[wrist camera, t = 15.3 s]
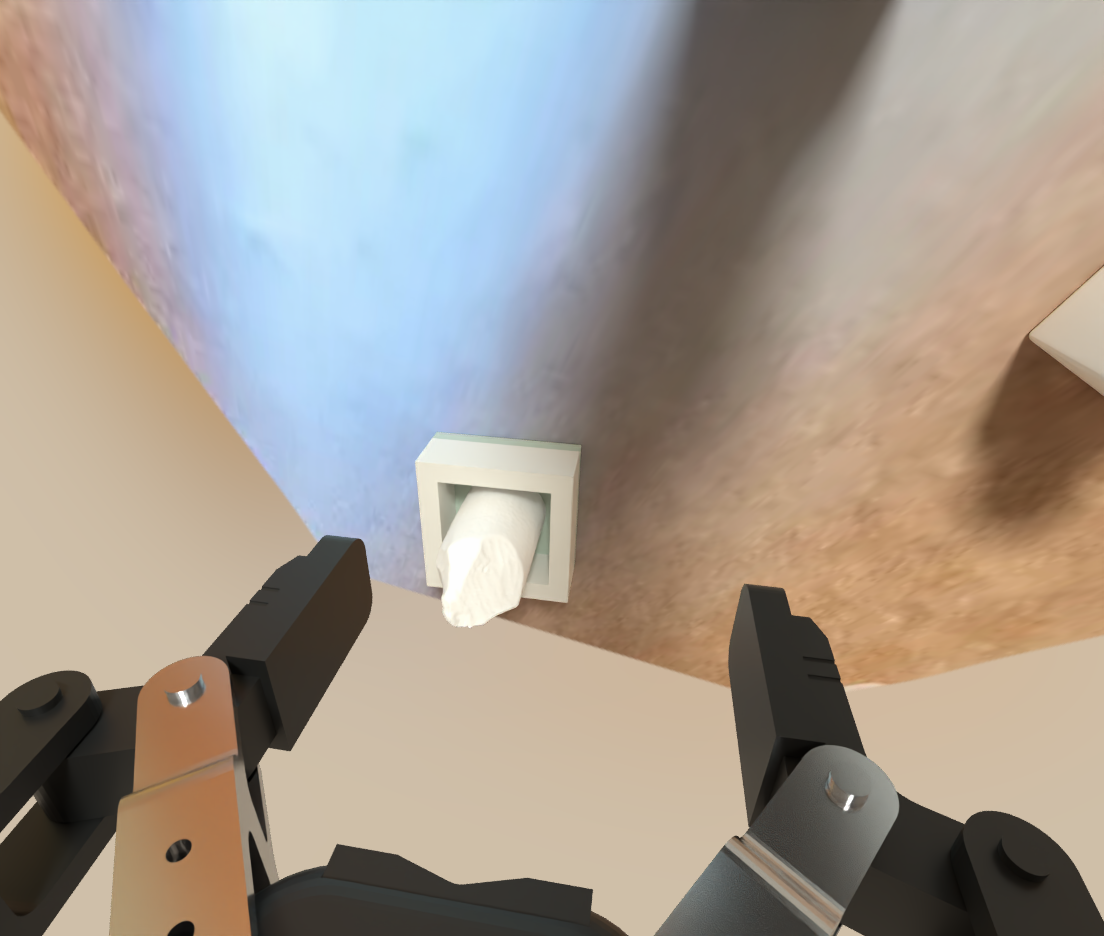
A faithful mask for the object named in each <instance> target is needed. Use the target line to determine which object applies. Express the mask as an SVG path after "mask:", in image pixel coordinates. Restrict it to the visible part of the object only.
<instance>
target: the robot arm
mask: <svg viewBox="0 0 1104 936" xmlns="http://www.w3.org/2000/svg"><path fill="white" fill-rule="evenodd" d="M371 606H372V589H371V583H370V576H369V569H368V563H367V556H366V550H365V545H364V543H363V541H362V540H361V539H357V538H348V537H340V536H331V535H326V536H324V537H323V538H322V539H321V540H320V541H319V542H318V543H317V545H316V546H315V547H314V548H313V550H312V551H311V552H310V553H309V554H308V556H297V557H296V558H294V559H293V560H291V561H289V562H288V563H286V564H284V565H283V566H281V567H280V568H278V569H277V570H276V571H275V572H274V573H273V574H272V575H271V577H270V578H269V579H268V580H267V581H266V582H265V584H264V585H263V586H262V589H261V590H259V591H258V592H257V593H256V594H255V595H254V596H253V597H252V598H251V600H250V603H249V604H246V605H245V607H244V608H243V609H242V610H241V611H240V612H239V614H238V615H237V616H236V617H235V618H234V619H233V621H232V622H231V623H230V624H229V625H228V626H227V628H226V629H225V630H224V631H223V632H222V633H221V634H220V636H219V637H218V638H217V639H216V640H215V641H214V643H213V644H212V645H211V646H210V647H209V648H208V650H207V651H206V652H205V653H204V654H203V655H202V656H195V657H190V658H186V659H182V660H180V661H177V662H175V663H172V664H170V665H168V666H166V667H165V668H163V669H161V670H160V671H159V672H157V673H156V674H155V675H153V676H152V677H151V678H150V679H149V680H148V681H147V682H146V684H145V685H144V686H137V687H130V688H121V689H113V690H106V691H98V692H96V690H95V688H94V686H93V684H92V682H91V680H90V679H89V677H88V676H87V675H86V674H84V673H81V672H78V671H59V672H54V673H50V674H47V675H43V676H40V677H38V678H35V679H33V680H31V681H29V682H27V683H25V684H23V685H21V686H20V687H18V688H17V689H15V690H14V691H12V692H11V693H9V694H8V695H7V696H6V697H5V698H3V699H2V700H1V701H0V832H1V831H2V830H3V829H4V828H5V827H6V825H7V824H8V823H9V822H10V821H11V820H12V819H13V818H14V816H15V815H16V814H17V813H18V812H19V811H20V809H21V808H22V807H23V806H24V805H25V804H26V803H27V801H28V800H29V799H30V798H31V797H32V796H33V795H34V797H35V799H36V800H37V802H36V803H35V804H34V806H33V807H32V808H31V809H30V810H29V812H28V813H27V814H26V815H25V816H24V817H23V819H22V820H21V821H20V822H19V823H18V824H17V826H16V827H15V828H14V829H13V830H12V831H11V833H10V834H9V835H8V836H7V837H6V838H5V840H4V841H3V842H2V843H1V844H0V936H42V935H43V934H44V932H45V931H46V930H47V928H48V927H49V925H50V924H51V922H52V921H53V920H54V918H55V917H56V915H57V914H58V913H59V911H60V910H61V908H62V907H63V905H64V904H65V903H66V901H67V900H68V898H69V897H70V896H71V894H72V893H73V891H74V890H75V889H76V887H77V886H78V884H79V883H80V882H81V880H82V879H83V877H84V876H85V874H86V873H87V872H88V870H89V869H90V867H91V866H92V864H93V863H94V862H95V860H96V859H97V857H98V856H99V855H100V853H101V852H102V850H103V849H104V848H105V846H106V845H107V843H108V842H109V840H110V839H111V838H112V836H113V835H114V833H115V832H116V842H115V857H114V872H113V886H112V901H111V916H110V931H109V936H628V935H627V934H626V933H625V932H623V931H622V930H621V929H620V928H619V927H617V926H616V925H614V924H613V923H611V922H610V921H609V920H607V919H606V918H604V917H602V916H600V915H598V914H596V913H594V912H592V911H591V903H592V893H593V890H592V889H587V888H582V887H576V886H570V885H565V884H559V883H554V882H548V881H542V880H536V879H531V878H523V879H513V880H502V881H493V882H483V883H475V884H466V885H465V884H464V885H459V884H454V883H451V882H449V881H447V880H445V879H443V878H441V877H439V876H437V875H435V874H434V873H432V872H429V871H428V870H426V869H424V868H422V867H420V866H418V865H416V864H414V863H412V862H410V861H408V860H406V859H404V858H402V857H401V856H399V855H396V854H390V853H384V852H379V851H373V850H368V849H362V848H356V847H350V846H345V845H339V844H337V845H336V847H335V850H334V852H333V854H332V856H331V858H330V861H329V863H328V865H327V866H320V867H316V868H312V869H308V870H304V871H301V872H298V873H295V874H293V875H290V876H287V877H285V878H283V879H281V880H279V878H278V873H277V869H276V865H275V860H274V855H273V849H272V842H271V835H270V828H269V822H268V815H267V807H266V801H265V794H264V787H263V780H262V773H261V768H260V765H259V762H260V760H261V758H262V757H263V755H264V754H265V752H266V750H267V749H268V748H273V749H280V750H286V751H291V749H292V748H293V746H294V744H295V743H296V741H297V739H298V738H299V736H300V734H301V732H302V731H303V729H304V727H305V726H306V724H307V722H308V721H309V719H310V717H311V716H312V714H313V712H314V710H315V709H316V707H317V705H318V704H319V702H320V700H321V699H322V697H323V695H324V694H325V692H326V690H327V688H328V687H329V685H330V683H331V682H332V680H333V678H334V677H335V675H336V673H337V671H338V669H339V668H340V666H341V665H342V663H343V661H344V660H345V658H346V656H347V655H348V653H349V651H350V649H351V648H352V646H353V644H354V643H355V641H356V639H357V638H358V636H359V634H360V633H361V631H362V629H363V627H364V626H365V624H366V622H367V620H368V618H369V615H370V611H371ZM834 661H835V660H834V657H833V654H832V651H831V648H830V644H829V641H828V638H827V637H826V636H825V635H824V633H823V632H822V631H821V630H820V629H819V628H818V626H817V625H816V624H815V623H814V622H813V621H812V619H811V618H810V617H801V616H793V615H791V611H790V608H789V604H788V600H787V597H786V593H785V591H784V589H783V588H777V587H768V586H759V585H751V584H744V585H743V587H742V590H741V594H740V599H739V603H738V608H737V612H736V616H735V621H734V625H733V630H732V634H731V639H730V645H729V660H728V663H729V676H730V684H731V691H732V699H733V707H734V716H735V723H736V731H737V739H738V747H739V754H740V762H741V771H742V778H743V786H744V794H745V802H746V810H747V818H748V825H749V827H750V828H749V829H748V831H747V832H746V833H745V834H744V835H743V836H742V837H741V838H739V837H738V836H734V837H732V838H731V839H730V840H729V841H728V842H727V843H726V844H725V845H724V846H723V848H722V849H721V850H720V852H719V853H718V854H717V855H716V857H715V858H714V859H713V860H712V862H711V863H710V864H709V866H708V867H707V868H706V869H705V871H704V872H703V873H702V875H701V876H700V877H699V878H698V880H697V881H696V882H695V884H694V885H693V886H692V887H691V889H690V890H689V891H688V893H687V894H686V895H685V897H684V898H683V899H682V901H681V902H680V903H679V904H678V905H677V907H676V908H675V909H674V911H673V912H672V913H671V914H670V916H669V917H668V918H667V920H666V921H665V922H664V923H663V925H662V926H661V927H660V928H659V930H658V931H657V932H656V934H655V935H654V936H837V934H838V933H839V931H840V929H841V927H842V925H845V926H847V927H849V928H851V929H853V930H855V931H856V932H858V933H860V934H862V935H864V936H1104V921H1103V919H1102V917H1101V915H1100V913H1099V911H1098V909H1097V907H1096V905H1095V903H1094V901H1093V899H1092V897H1091V895H1090V893H1089V891H1088V890H1087V888H1086V885H1085V883H1084V881H1083V879H1082V878H1081V876H1080V873H1079V872H1078V870H1077V868H1076V866H1075V865H1074V863H1073V862H1072V861H1071V859H1070V858H1069V856H1068V855H1067V854H1066V853H1065V852H1064V851H1063V849H1061V847H1060V846H1059V845H1058V844H1057V843H1056V842H1055V841H1053V840H1052V839H1051V838H1050V837H1049V836H1048V835H1046V834H1045V833H1043V832H1042V831H1041V830H1040V829H1038V828H1036V827H1035V826H1033V825H1032V824H1030V823H1028V822H1026V821H1024V820H1022V819H1020V818H1018V817H1015V816H1012V815H1010V814H1006V813H1002V812H997V811H983V812H978V813H976V814H974V815H972V816H971V817H970V818H969V819H968V820H967V821H966V823H965V824H963V823H960V822H958V821H956V820H953V819H951V818H949V817H946V816H944V815H942V814H939V813H937V812H935V811H932V810H930V809H928V808H925V807H923V806H921V805H919V804H916V803H914V802H912V801H910V800H908V799H907V798H905V797H904V796H902V795H901V794H899V793H898V792H897V791H896V790H895V788H894V786H893V784H892V782H891V781H890V779H889V778H888V776H887V775H886V774H885V773H884V772H883V771H882V769H880V767H879V766H877V765H876V764H875V763H874V762H873V761H871V760H870V759H868V758H867V756H866V754H865V751H864V748H863V745H862V742H861V739H860V736H859V733H858V730H857V727H856V724H855V721H854V718H853V715H852V712H851V709H850V705H849V702H848V699H847V696H846V693H845V690H844V687H843V684H842V683H841V682H840V679H841V678H840V675H839V672H838V669H837V666H836V665H835V664H834Z"/></svg>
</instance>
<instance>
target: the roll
mask: <svg viewBox="0 0 1104 936" xmlns="http://www.w3.org/2000/svg"><path fill="white" fill-rule="evenodd" d="M545 517H546V507H545V504H544V501H543V499H542V497H541V496H540V494H539V493H538V492H530V491H520V490H510V489H501V488H491V487H481V486H472V487H471V489H470V491H469V493H468V494H467V496H466V498H465V500H464V502H463V503H462V505H461V507H460V509H459V511H458V512H457V514H456V516H455V518H454V520H453V522H452V524H451V526H450V528H449V530H448V532H447V534H446V536H445V538H444V541H443V543H442V545H441V547H440V549H439V552H438V555H437V560H436V567H437V570H438V573H439V576H440V580H441V583H442V586H443V594H442V597H441V600H442V606H443V610H442V614H443V616H444V617H445V618H446V620H447V622H448V623H449V624H451V625H452V626H456V627H468V628H471V627H473V626H481V625H484V624H486V623H487V622H488V621H489V620H491V619H492V618H494V617H496V616H497V615H499V614H502V613H504V612H506V611H509V610H512V609H514V608H516V607H517V606H518V605H519V602H520V599H521V596H522V593H523V590H524V587H525V583H526V581H527V577H528V574H529V571H530V567H531V563H532V560H533V556H534V553H535V550H536V547H537V543H538V539H539V536H540V533H541V530H542V527H543V524H544V521H545Z"/></svg>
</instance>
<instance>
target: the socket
mask: <svg viewBox="0 0 1104 936" xmlns="http://www.w3.org/2000/svg"><path fill="white" fill-rule="evenodd" d="M580 461H581V445H575V444H564V443H553V442H542V441H531V440H520V439H509V438H498V437H487V436H476V435H465V434H454V433H443V432H436V434H435V435H434V436H433V438H432V439H431V441H430V442H429V443H428V445H427V446H426V447H425V449H424V450H423V452H422V453H421V454H420V456H419V457H418V458H417V460H416V461H415V465H416V475H417V486H418V496H419V507H420V517H421V527H422V538H423V548H424V559H425V569H426V579H427V586H432V587H441V588H443V586H442V583H441V580H440V576H439V573H438V570H437V567H436V560H437V555H438V552H439V549H440V547H441V545H442V543H443V541H444V538H445V536H446V534H447V532H448V530H449V528H450V526H451V524H452V522H453V520H454V518H455V516H456V514H457V512H458V511H459V509H460V507H461V505H462V503H463V502H464V500H465V498H466V496H467V494H468V493H469V491H470V489H471V487H472V486H481V487H491V488H501V489H510V490H520V491H530V492H538V493H539V494H540V496H541V497H542V499H543V501H544V504H545V507H546V517H545V521H544V524H543V527H542V530H541V533H540V536H539V539H538V543H537V547H536V550H535V553H534V556H533V560H532V563H531V567H530V571H529V574H528V577H527V581H526V583H525V587H524V590H523V593H522V596H521V597H523V598H531V599H539V600H547V601H555V602H564V603H568V598H569V593H570V588H571V582H572V577H573V572H574V567H575V555H576V536H577V517H578V499H579V480H580Z"/></svg>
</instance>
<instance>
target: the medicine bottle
mask: <svg viewBox="0 0 1104 936" xmlns="http://www.w3.org/2000/svg"><path fill="white" fill-rule="evenodd" d="M1029 338H1030V340H1031V341H1032V342H1034V343H1035V344H1036V345H1037V346H1039V347H1040V348H1041V349H1043V350H1044V351H1045V352H1047V353H1048V354H1049V355H1051V356H1052V357H1053V358H1054V359H1056V360H1057V361H1058V362H1060V363H1061V364H1062V365H1064V366H1065V367H1066V368H1068V369H1069V370H1070V371H1071V372H1073V373H1074V374H1075V375H1077V376H1078V377H1079V378H1081V379H1082V380H1083V381H1085V382H1086V383H1087V384H1088V385H1090V386H1091V387H1092V388H1094V389H1095V390H1096V391H1098V392H1099V393H1100V394H1102V395H1103V396H1104V266H1103V267H1102V268H1101V269H1100V270H1099V271H1097V272H1096V273H1095V274H1094V275H1093V276H1092V277H1091V278H1090V279H1089V280H1088V281H1086V282H1085V283H1084V284H1083V285H1082V286H1081V287H1080V288H1079V289H1078V290H1076V291H1075V292H1074V293H1073V294H1072V295H1071V296H1070V297H1069V298H1068V299H1066V300H1065V301H1064V302H1063V303H1062V304H1061V305H1060V306H1059V307H1058V308H1056V309H1055V310H1054V311H1053V312H1052V313H1051V314H1050V315H1049V316H1048V317H1047V318H1045V319H1044V320H1043V321H1042V322H1041V323H1040V324H1039V325H1038V326H1037V327H1035V328H1034V329H1033V330H1032V331H1031V332H1030V334H1029Z"/></svg>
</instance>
